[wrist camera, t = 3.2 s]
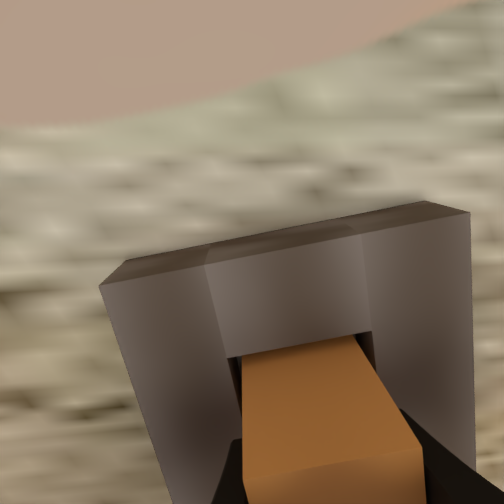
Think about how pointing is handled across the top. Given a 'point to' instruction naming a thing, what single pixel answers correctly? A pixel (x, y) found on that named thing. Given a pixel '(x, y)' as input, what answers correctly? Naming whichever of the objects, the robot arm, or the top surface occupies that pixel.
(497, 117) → the top surface
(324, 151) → the top surface
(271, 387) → the orange block
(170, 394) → the pocket holder
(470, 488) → the robot arm
